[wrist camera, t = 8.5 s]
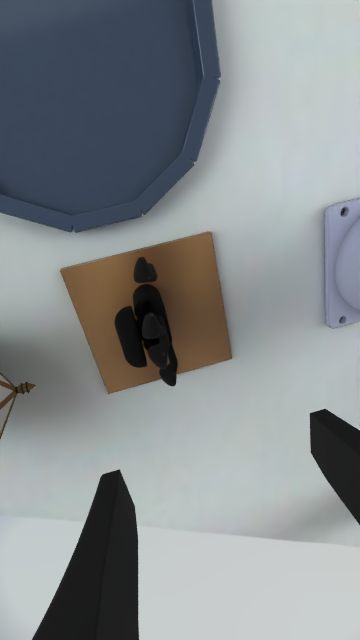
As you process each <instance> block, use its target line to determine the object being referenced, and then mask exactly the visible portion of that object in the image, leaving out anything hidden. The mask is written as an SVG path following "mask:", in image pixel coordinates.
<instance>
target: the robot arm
mask: <svg viewBox="0 0 360 640" xmlns="http://www.w3.org/2000/svg"><path fill="white" fill-rule="evenodd" d="M343 208H344V213H343V215H342V216H341V214H340V213H341V210H342V209H343ZM325 294H326V325H327V326H329V327H330V328H338V327H342V326H345V325H349V324H352V323H356V322H359V321H360V198H357V199H353V200H349V201H345V202H341V203H337V204H333V205H331V206H329V207H328V208H327V210H326V212H325ZM341 317H342V319H341V320H340V321H339V319H340V318H341ZM310 439H311V454H312V455H313V457H314V459H315V461H316V462H317V464H318V466H319V468H320V469H321V471H322V473H323V474H324V476H325V478H326V479H327V481H328V482H329V484H330V485H331V486H332V488H333V489H334V491H335V492H336V493H337V495H338V496H339V497H340V499H341V500H342V501H343V503H344V504H345V506H346V507H347V508H348V510H349V511H350V512H351V514H352V515H353V516H354V518H355V519H356V520H357V522H358V523H359V525H360V430H358V429H356V428H355V427H353V426H352V425H350V424H348V423H347V422H345V421H344V420H342V419H341V418H339V417H337V416H336V415H334V414H333V413H331V412H329V411H328V410H326V409H323V410H320V411H316V412H313V413H310ZM32 640H139V631H138V534H137V523H136V514H135V506H134V503H133V501H132V498H131V496H130V494H129V491H128V489H127V486H126V484H125V481H124V479H123V477H122V474H121V472H120V469H119V470H116V471H113V472H109V473H106V474H103V475H102V476H101V478H100V481H99V484H98V487H97V491H96V494H95V497H94V500H93V503H92V506H91V509H90V511H89V514H88V517H87V520H86V522H85V525H84V528H83V530H82V533H81V535H80V538H79V541H78V543H77V546H76V548H75V551H74V553H73V555H72V558H71V560H70V562H69V565H68V567H67V569H66V572H65V574H64V576H63V578H62V581H61V583H60V585H59V587H58V589H57V591H56V593H55V596H54V598H53V600H52V602H51V604H50V606H49V608H48V610H47V612H46V614H45V616H44V618H43V620H42V622H41V624H40V626H39V628H38V629H37V631H36V633H35V635H34V637H33V639H32Z"/></svg>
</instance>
